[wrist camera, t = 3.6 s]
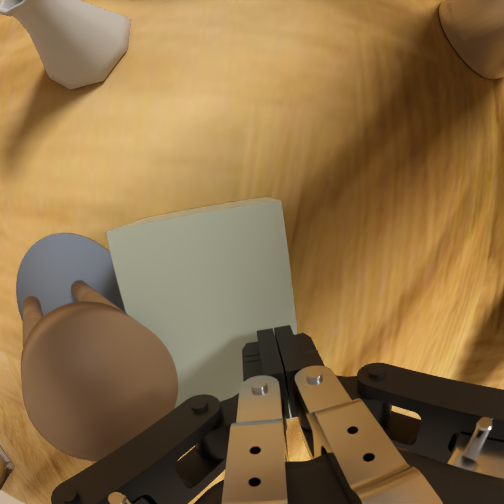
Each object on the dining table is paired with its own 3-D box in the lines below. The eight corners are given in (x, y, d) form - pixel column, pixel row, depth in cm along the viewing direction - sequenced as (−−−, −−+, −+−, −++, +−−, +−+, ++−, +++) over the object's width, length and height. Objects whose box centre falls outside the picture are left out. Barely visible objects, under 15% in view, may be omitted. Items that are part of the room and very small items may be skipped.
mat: (123, 217, 19) (122, 217, 19) (166, 377, 21) (166, 379, 21) (3, 248, 19) (1, 248, 18) (48, 378, 21) (47, 379, 21)
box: (266, 196, 19) (281, 200, 13) (288, 359, 22) (305, 415, 15) (145, 217, 19) (106, 231, 13) (184, 373, 21) (170, 431, 15)
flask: (111, 94, 17) (31, 40, 7) (40, 89, 16) (-44, 56, 7) (147, 12, 16) (103, -69, 6) (73, 14, 15) (14, -42, 5)
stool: (185, 249, 19) (114, 345, 7) (206, 343, 21) (185, 491, 8) (42, 274, 19) (-74, 343, 7) (69, 354, 21) (-11, 453, 8)
